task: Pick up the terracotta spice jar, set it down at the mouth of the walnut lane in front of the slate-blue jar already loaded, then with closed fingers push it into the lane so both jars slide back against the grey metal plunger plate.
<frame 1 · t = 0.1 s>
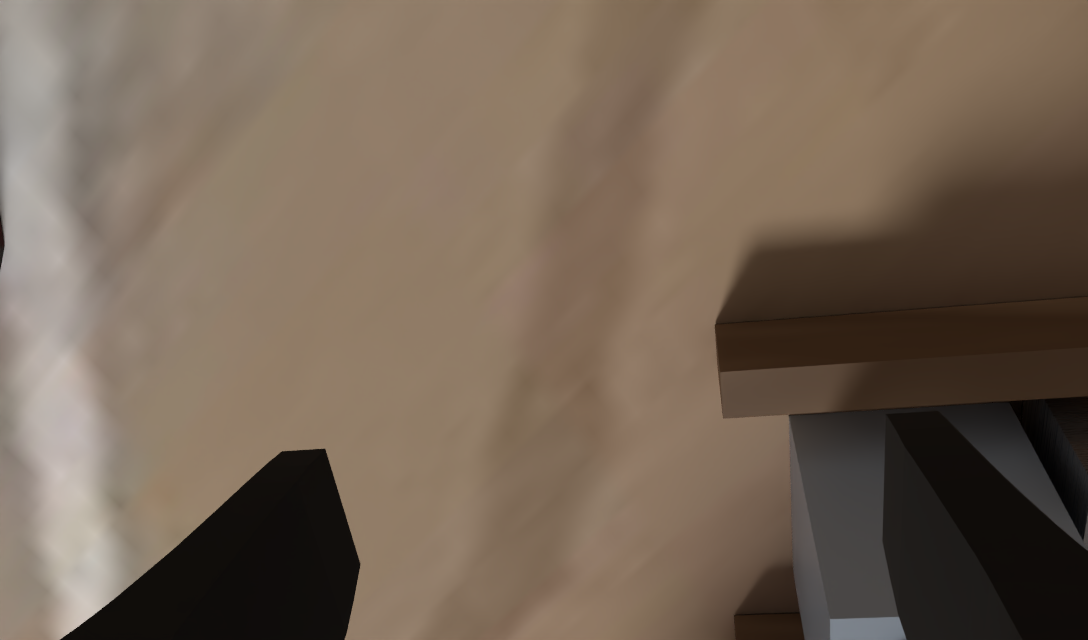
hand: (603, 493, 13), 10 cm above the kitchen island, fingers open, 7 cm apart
slate jar: (893, 490, 25), on the kitchen island
lane: (1061, 484, 25), on the kitchen island
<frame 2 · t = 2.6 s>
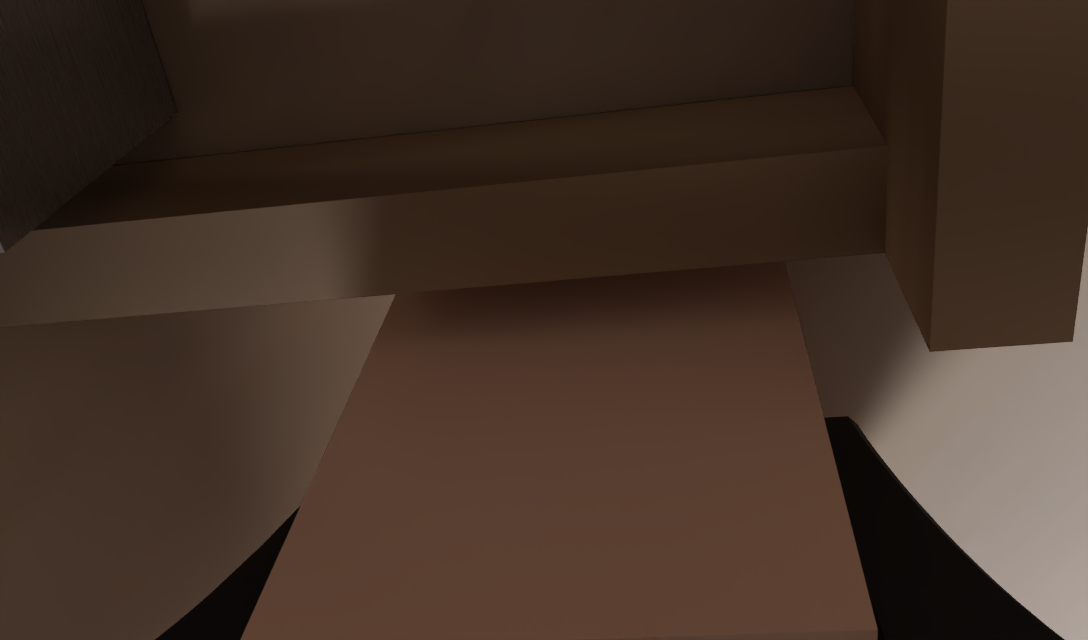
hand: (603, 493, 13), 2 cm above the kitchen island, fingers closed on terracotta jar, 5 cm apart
terracotta jar: (607, 416, 15), on the kitchen island, touching gripper
when the fingers open (3 cm above the kitchen island, at t = 6.1 s): terracotta jar stays where it is, on the kitchen island.
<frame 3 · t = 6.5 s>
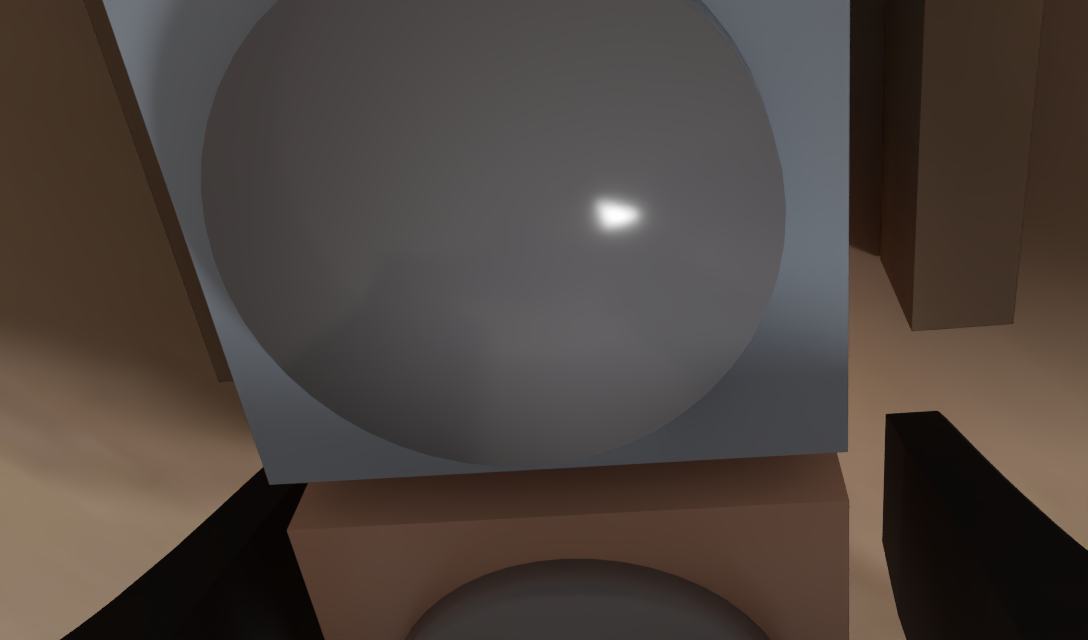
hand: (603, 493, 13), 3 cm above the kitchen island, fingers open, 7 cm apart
terracotta jar: (611, 361, 16), on the kitchen island
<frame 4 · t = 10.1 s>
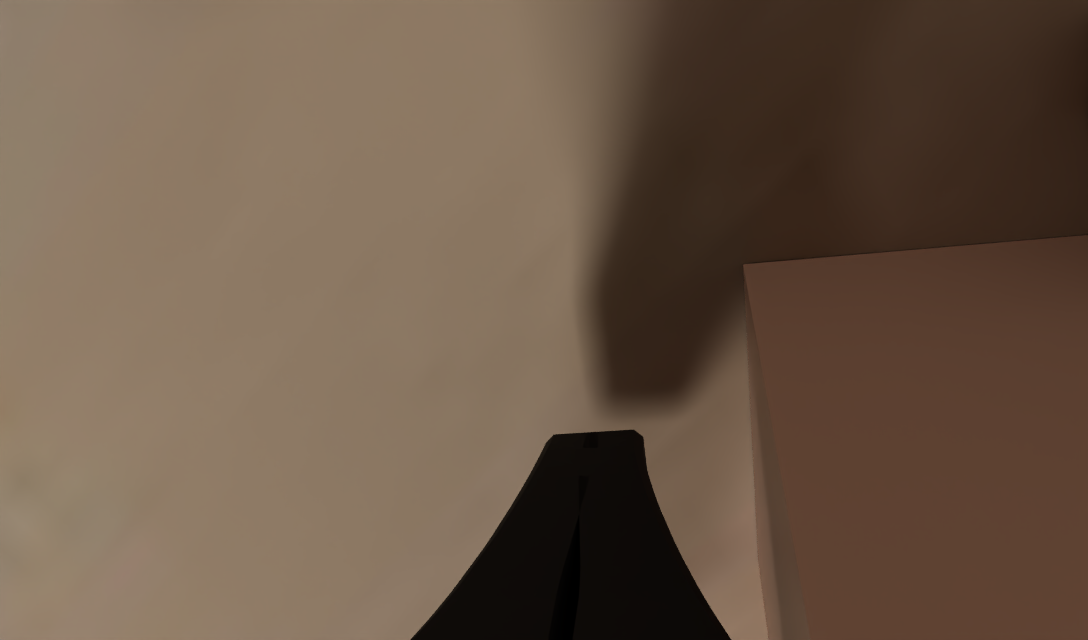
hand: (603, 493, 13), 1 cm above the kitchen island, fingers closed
terracotta jar: (940, 414, 14), on the kitchen island, touching gripper
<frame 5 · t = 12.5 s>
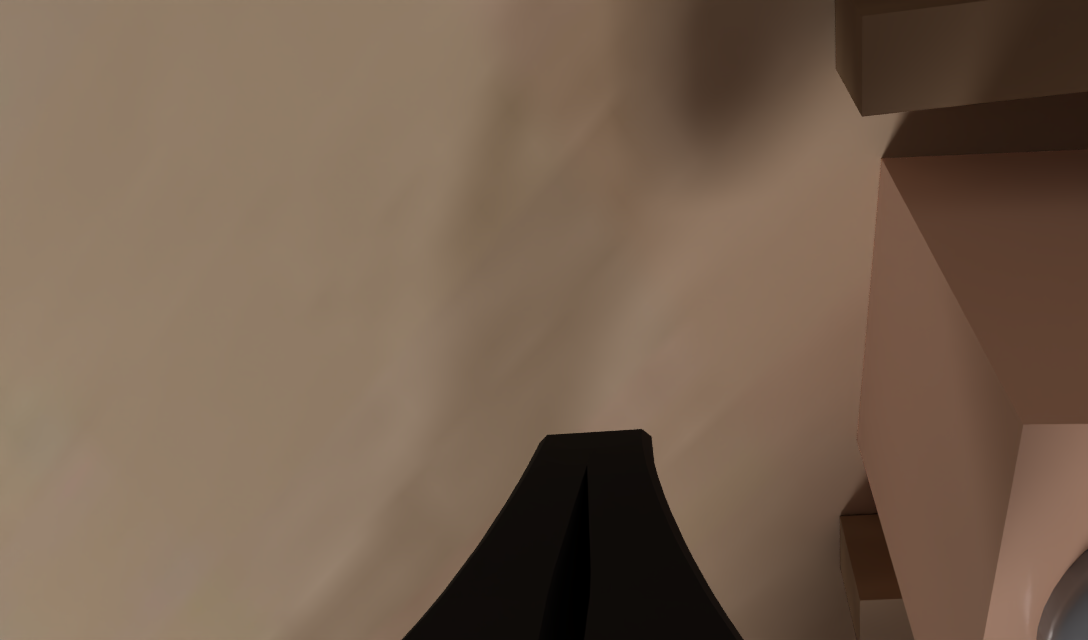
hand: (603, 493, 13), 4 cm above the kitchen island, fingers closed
terracotta jar: (1036, 304, 16), on the kitchen island
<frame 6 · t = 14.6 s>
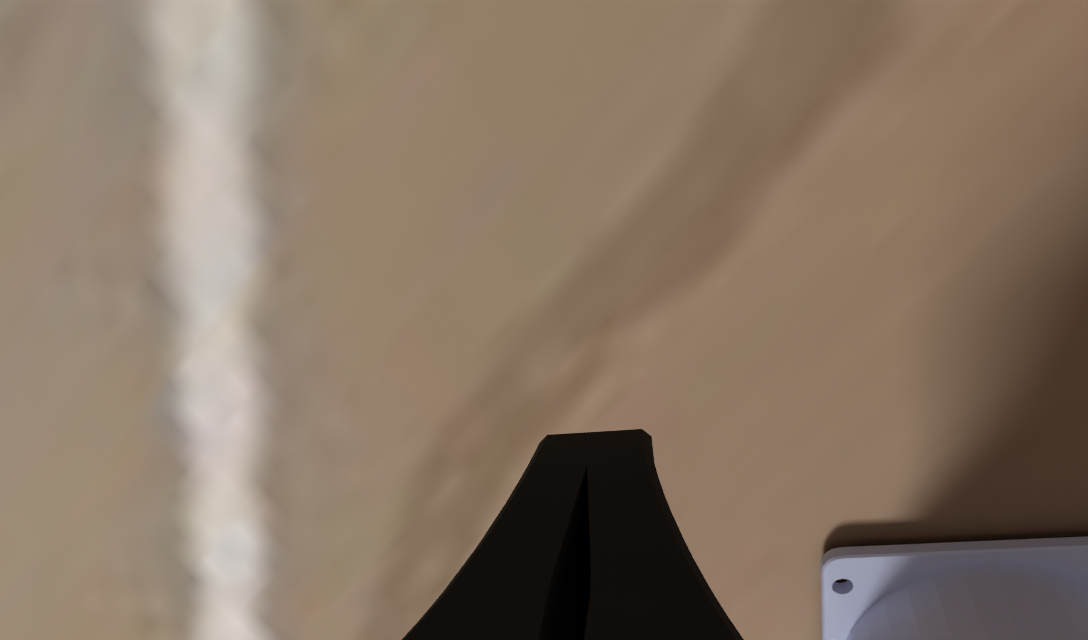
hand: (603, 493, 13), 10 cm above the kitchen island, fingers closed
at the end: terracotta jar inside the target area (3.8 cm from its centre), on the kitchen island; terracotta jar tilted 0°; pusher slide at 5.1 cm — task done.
